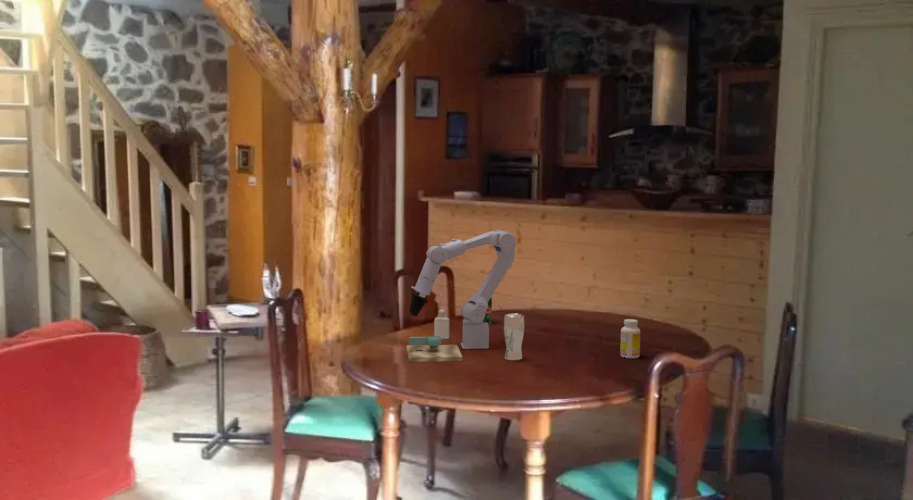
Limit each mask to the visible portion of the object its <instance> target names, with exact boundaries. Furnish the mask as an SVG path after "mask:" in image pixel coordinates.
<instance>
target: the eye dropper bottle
mask: <svg viewBox="0 0 913 500" xmlns="http://www.w3.org/2000/svg"><path fill="white" fill-rule="evenodd" d="M433 322H434V323H433V325H434V326H433V327H434V328H433V333H434V334H433V336H440V337H441V340H449V339H450V318H449V317H448V316H446V310H444V307H443V306H441V307H440V309H439V310H438V316H436V317H434V321H433Z"/></svg>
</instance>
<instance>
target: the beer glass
mask: <svg viewBox="0 0 913 500" xmlns="http://www.w3.org/2000/svg"><path fill="white" fill-rule="evenodd" d="M503 318H504V320H503V335H504V342H505V353H504V359H505V360H506V361H507V360H508V361H521V360H522V359H523V354H522V353H523V352H522V345H523V340H524V335H525V333H524V332H525V315H524V314H522V313H505V314H504V317H503Z"/></svg>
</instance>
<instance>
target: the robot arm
mask: <svg viewBox="0 0 913 500" xmlns="http://www.w3.org/2000/svg"><path fill="white" fill-rule="evenodd" d="M485 245H490V246H493V248H494V249H495V251H496V255H497V259H496V260H495V263H494V264H493V266H492V267H491V269H490V271H489V272H488V274H487V275H486V277H485V278H484V280H483V281H482V283H481V285H480V286H479V288H478V290H477V291H476V293H475V294H474V295H472V296H471V297H469V299H468V301H467V302H465V303H464V304H462V305H461V307H460V312H461V313H460V314H461V316H462V317H463V319H462V342H460V346H461V348H462V349H463V350H465V349H466V350H471V349H473V350H475V349H476V350H479V349H482V350H483V349H489V348H490V346H489V344H490V343H489V342H490V338H489V337H490V324H489V325H488V323H484V322H483V320H484V318H485V312H486V310H487V308H488V301H489V299H490V298H491V297H493V295H494V293H495V291H496V290H497V288H498V287H499V285H500V283H501V282H502V280H503V279H504V278H505V275H506V273H507V272H508V271H509V269H510V268H511V266H512V264H513V263H514V260H515V249H516V246H517V241H516V238H515V235H514V234H513V233H512V232H509V231H506V230H505V231H504V230H502V229H495V230H490V231H487V232H485V233H482V234H479V235H477V236H474V237H471V238H468V239H466V240H461V239H459V238H458V239H457V238H452V239H451V241H448V242H445V243H443V242H441V243H439V246H437V245H433V246H431V247H430V248H429V249H428V250H426V259H425V262H424V264H423V266H422V269H421V272H420V274H419V276H418V279H417V281H416V283H415V286H413V285H411V289H413V290H414V291H416V293H415V292H413V291H411V302H410V307H409V313H410V315H411V316H412V317H417V316H418V315H419V314H420V312H421V310H422V309H423V308H424V306H425V305H426V304H427V303H429V300H428V299H427V296H430V295H431V292H432V289H433V286H434V284H435V282H436V279H437V276H438V274H439V271H440V269H441V266H442V265H443V264H444V263H445V262H446V261H447V260H450V259H453V258H456V257H459V256H460V257H461V256H463V255H465V252H466V251H467V250H470V249H473V248H474V249H475V248H476V247H480V246H485Z"/></svg>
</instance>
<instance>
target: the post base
mask: <svg viewBox="0 0 913 500" xmlns="http://www.w3.org/2000/svg"><path fill="white" fill-rule="evenodd" d="M406 353H407V359H408V362H409V363H422V362H423V363H425V362H426V363H427V362H428V363H429V362H430V363H431V362H432V363H433V362H438V363H439V362H440V363H441V362H463V355H462V353H461V351H460V348H459V347H458V344H441V345H439V346H428V345H409V344H407V345H406Z"/></svg>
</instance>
